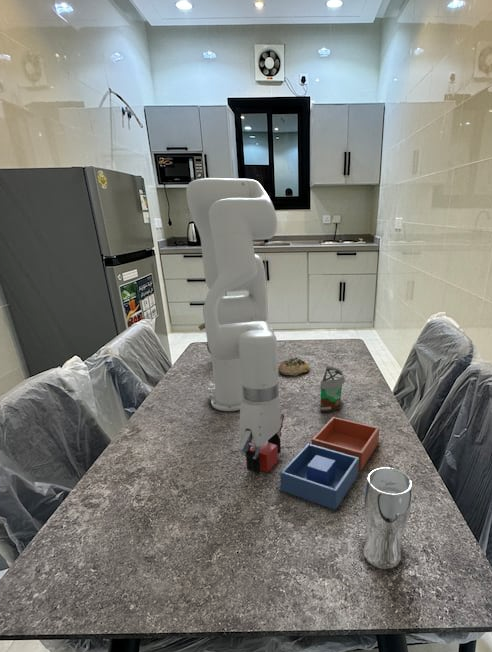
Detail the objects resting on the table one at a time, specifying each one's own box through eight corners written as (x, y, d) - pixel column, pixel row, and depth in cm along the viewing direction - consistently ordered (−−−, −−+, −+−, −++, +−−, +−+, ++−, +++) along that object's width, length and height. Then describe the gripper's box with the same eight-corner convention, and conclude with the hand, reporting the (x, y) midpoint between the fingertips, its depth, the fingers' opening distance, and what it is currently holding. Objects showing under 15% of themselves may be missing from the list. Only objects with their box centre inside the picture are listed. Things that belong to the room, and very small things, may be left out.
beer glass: (356, 539, 66) (361, 467, 60) (395, 536, 67) (404, 465, 61) (366, 573, 60) (373, 497, 54) (410, 570, 61) (421, 494, 54)
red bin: (311, 455, 90) (311, 439, 88) (332, 431, 99) (333, 416, 98) (361, 470, 84) (362, 453, 82) (378, 443, 94) (379, 427, 92)
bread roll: (290, 362, 146) (291, 350, 144) (314, 371, 141) (315, 359, 138) (271, 372, 138) (272, 359, 136) (296, 383, 133) (297, 370, 130)
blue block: (306, 483, 80) (306, 465, 78) (316, 472, 83) (316, 454, 81) (326, 490, 78) (326, 472, 76) (335, 478, 81) (335, 460, 79)
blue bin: (280, 490, 78) (280, 472, 77) (307, 459, 88) (307, 443, 86) (335, 510, 73) (336, 491, 71) (358, 475, 83) (359, 457, 81)
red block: (250, 466, 86) (249, 449, 84) (261, 456, 90) (260, 440, 88) (267, 472, 84) (266, 455, 82) (278, 461, 88) (277, 445, 86)
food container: (341, 416, 107) (343, 383, 103) (320, 414, 108) (320, 381, 104) (345, 397, 118) (346, 367, 114) (325, 395, 119) (326, 365, 115)
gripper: (267, 373, 88) (271, 438, 95) (219, 403, 74) (227, 477, 81) (296, 378, 85) (297, 446, 92) (251, 411, 71) (256, 488, 78)
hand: (264, 460), depth 86 cm, fingers open, 7 cm apart
